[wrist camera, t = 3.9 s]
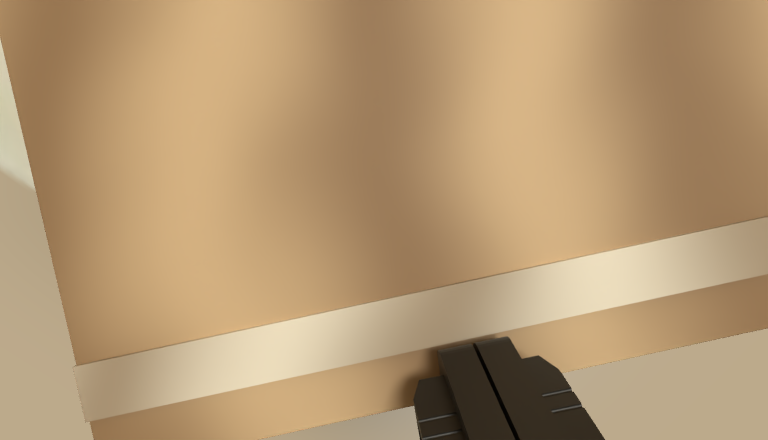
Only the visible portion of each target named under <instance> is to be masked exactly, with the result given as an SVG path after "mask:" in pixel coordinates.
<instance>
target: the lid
mask: <svg viewBox="0 0 768 440" xmlns="http://www.w3.org/2000/svg"><path fill="white" fill-rule="evenodd" d="M0 38H1V43H2V47H3V51H4V56H5V60H6V64H7V68H8V73H9V77H10V81H11V86H12V90H13V94H14V99H15V103H16V107H17V111H18V116H19V120H20V124H21V129H22V133H23V137H24V141H25V146H26V150H27V154H28V159H29V163H30V167H31V172H32V176H33V180H34V184H35V189H36V193H37V197H38V202H39V205H40V210H41V214H42V219H43V223H44V227H45V232H46V236H47V240H48V245H49V249H50V253H51V257H52V262H53V266H54V270H55V274H56V279H57V283H58V287H59V292H60V296H61V300H62V305H63V309H64V313H65V318H66V322H67V326H68V330H69V334H70V339H71V343H72V347H73V352H74V356H75V360H76V366H74V367H73V371H74V375H75V380H76V384H77V388H78V392H79V397H80V401H81V405H82V409H83V414H84V418H85V422H90V425H91V429H92V433H93V438H94V440H259V439H263V438H268V437H272V436H276V435H281V434H286V433H291V432H295V431H300V430H304V429H309V428H314V427H318V426H323V425H327V424H331V423H336V422H341V421H346V420H350V419H354V418H359V417H364V416H368V415H373V414H378V413H382V412H387V411H391V410H396V409H400V408H405V407H410V406H414V401H413V399H414V395H415V392H416V388H417V385H418V382H419V380H421V379H426V378H431V377H436V376H440V371H439V363H438V356H437V351H438V350H442V349H447V348H452V347H457V346H462V345H466V344H472V345H473V343H475V342H480V341H485V340H490V339H495V338H500V337H505V336H508V337H509V338H510V339H511V341H512V343H513V344H514V346H515V348H516V350H517V351H518V353H519V355H520V357H521V358H522V359H523V358H528V357H532V356H537V355H539V356H541V357H542V358H543V359H545V360H546V361H548V362H549V363H551V364H552V365H553V366H555V367H556V368H558V369H559V370H560V372H561V373H565V372H570V371H574V370H579V369H583V368H587V367H592V366H597V365H602V364H606V363H611V362H615V361H620V360H624V359H629V358H634V357H638V356H642V355H647V354H652V353H656V352H661V351H665V350H670V349H674V348H679V347H684V346H688V345H692V344H698V343H702V342H707V341H711V340H716V339H720V338H725V337H730V336H734V335H739V334H743V333H748V332H752V331H757V330H762V329H766V328H768V0H0Z"/></svg>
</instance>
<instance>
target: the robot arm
mask: <svg viewBox="0 0 768 440" xmlns="http://www.w3.org/2000/svg"><path fill="white" fill-rule="evenodd" d="M437 356H438V363H439V371H440V376H436V377H431V378H426V379H421V380H419V382H418V385H417V388H416V392H415V395H414V399H413V401H414V406H415V413H416V419H417V425H418V430H419V436H420V440H605V439H604V437H603V436H602V434H601V433H600V431H599V430H598V428H597V427H596V425H595V424H594V422H593V421H592V419H591V418H590V416H589V414H588V413H587V412H586V410H585V408H583V407H582V405H581V402H580V401H579V399H578V398H577V396H576V395H575V393H574V392H572V390H571V387H570V385H569V384H568V382H567V381H566V379H565V378H564V376H563V375H562V373H561V372H560V370H559V369H558V368H556V367H555V366H553V365H552V364H551V363H549V362H548V361H546V360H545V359H543V358H542V357H541V356H539V355H537V356H532V357H528V358H523V359H522V358H521V357H520V355H519V353H518V351H517V350H516V348H515V346H514V344H513V343H512V341H511V339H510V338H509V337H508V336H505V337H500V338H495V339H490V340H485V341H480V342H475V343H473V345H472V344H466V345H462V346H457V347H452V348H447V349H442V350H438V351H437Z"/></svg>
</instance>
